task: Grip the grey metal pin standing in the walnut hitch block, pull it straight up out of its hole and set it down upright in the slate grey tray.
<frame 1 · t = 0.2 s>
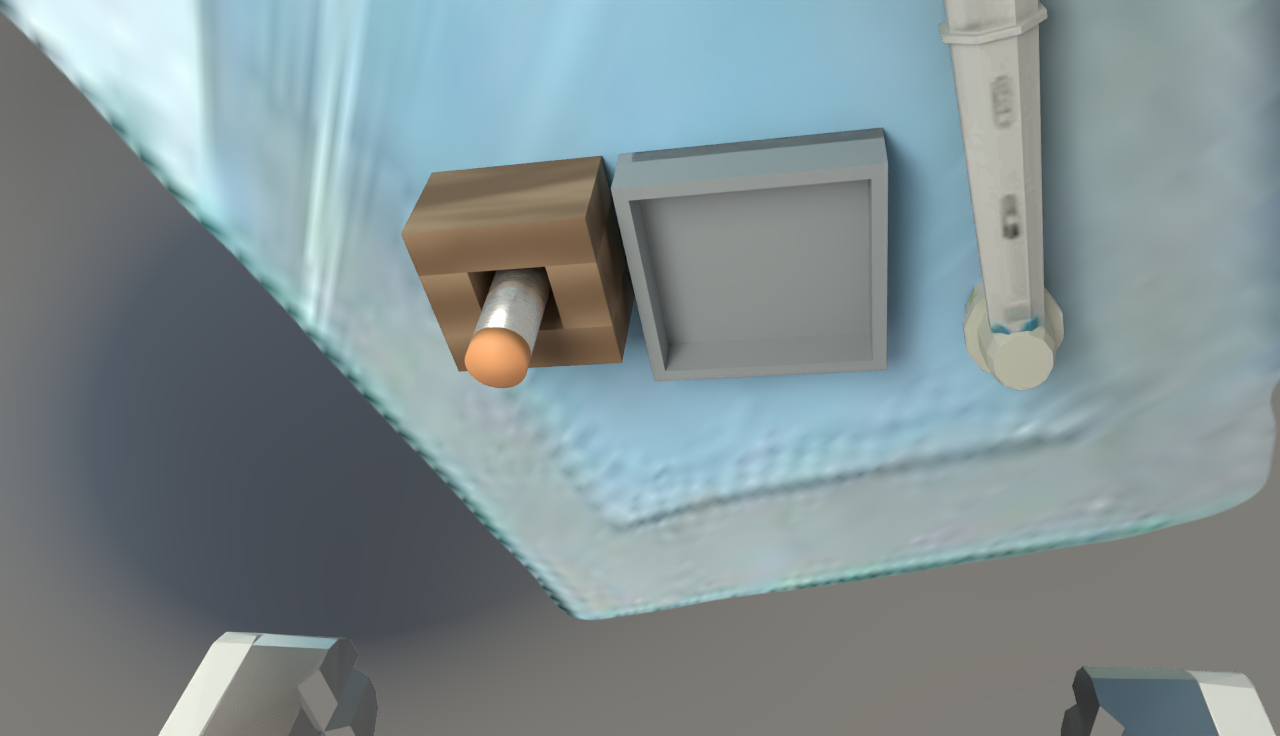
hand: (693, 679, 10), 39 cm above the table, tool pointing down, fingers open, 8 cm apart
electric toothbrush: (994, 162, 49), on the table
tray: (758, 247, 54), on the table
pin: (518, 296, 51), in the hitch block
hitch block: (537, 237, 55), on the table
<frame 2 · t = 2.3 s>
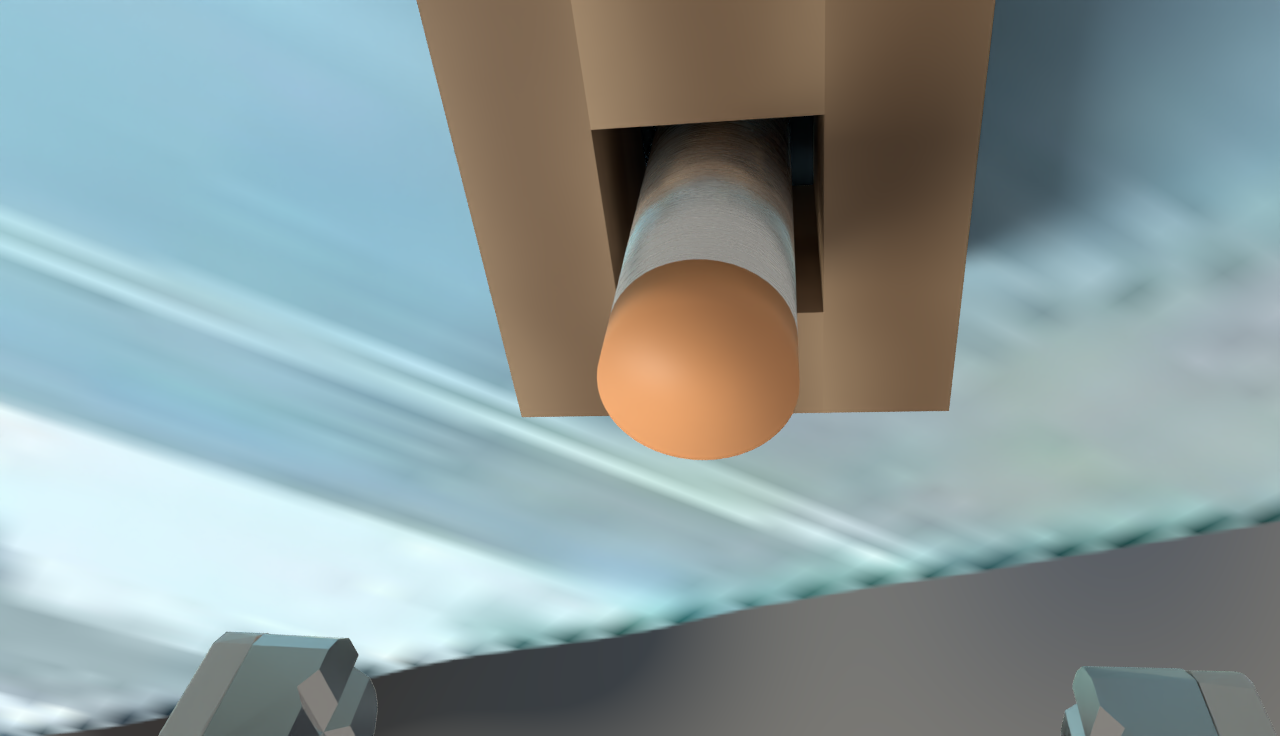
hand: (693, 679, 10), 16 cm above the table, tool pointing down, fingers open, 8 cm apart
pin: (714, 215, 19), in the hitch block
hitch block: (725, 110, 23), on the table
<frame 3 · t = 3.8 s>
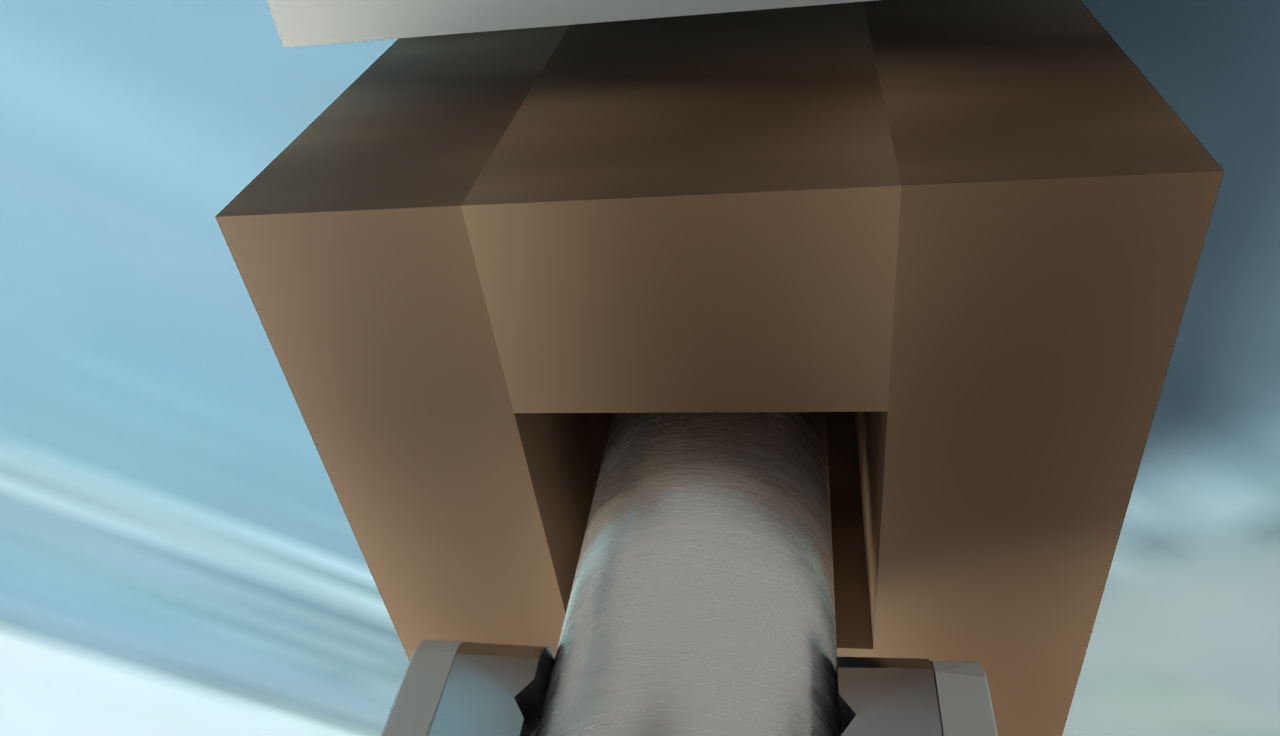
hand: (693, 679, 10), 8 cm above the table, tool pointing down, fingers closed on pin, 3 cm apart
pin: (710, 517, 12), in the hitch block, touching gripper
hitch block: (731, 292, 17), on the table
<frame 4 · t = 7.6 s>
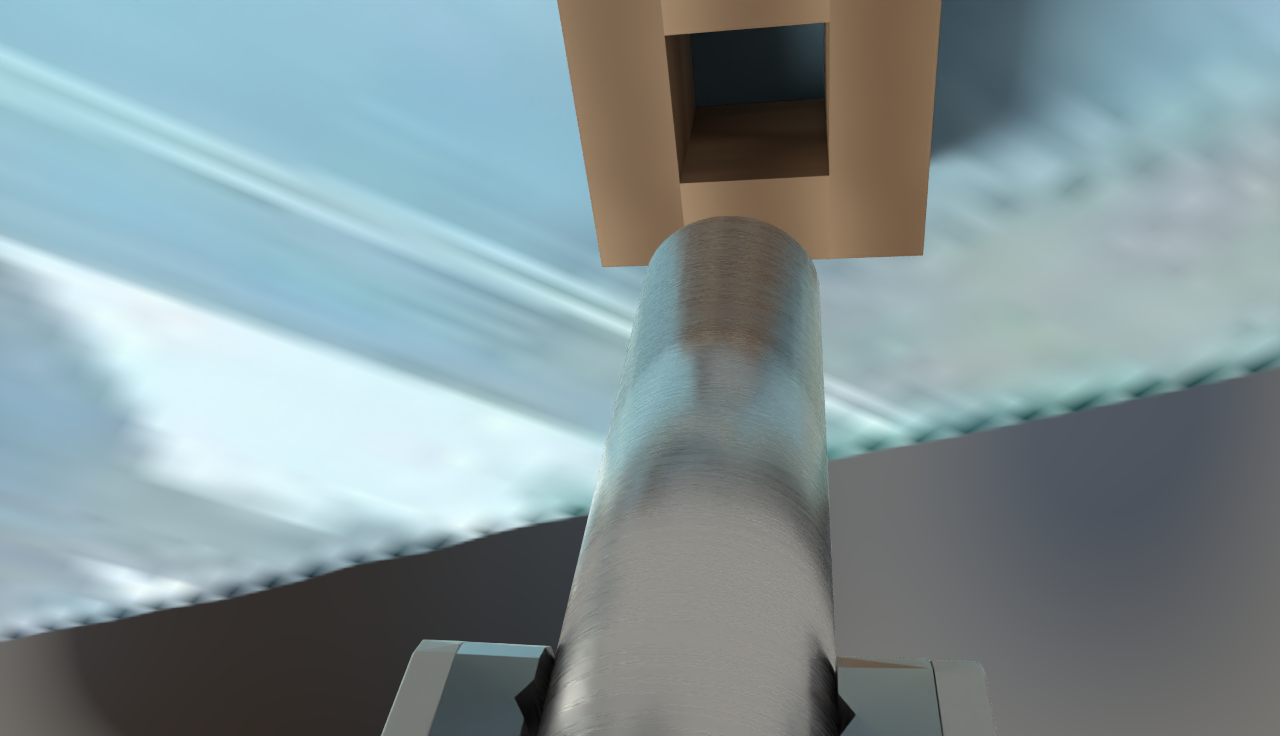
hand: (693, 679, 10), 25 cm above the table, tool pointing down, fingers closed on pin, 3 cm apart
pin: (709, 519, 12), point 22 cm above the table, touching gripper
hitch block: (756, 38, 31), on the table
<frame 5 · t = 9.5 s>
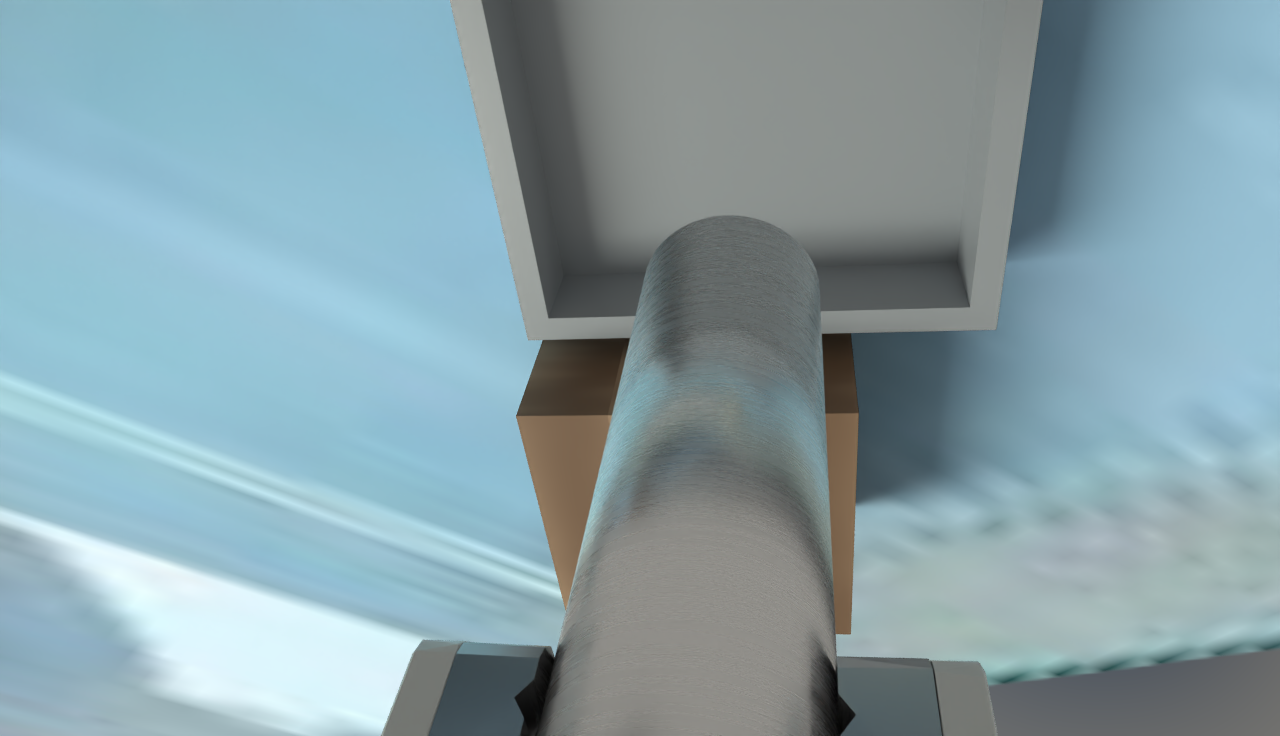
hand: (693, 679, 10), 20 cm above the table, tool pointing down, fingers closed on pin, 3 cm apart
tray: (745, 64, 26), on the table
pin: (709, 518, 12), point 18 cm above the table, touching gripper
hitch block: (707, 413, 34), on the table
when the fingers open (11 cm above the table, at t = 11.3 s): pin drops 2 cm, resting on tray.
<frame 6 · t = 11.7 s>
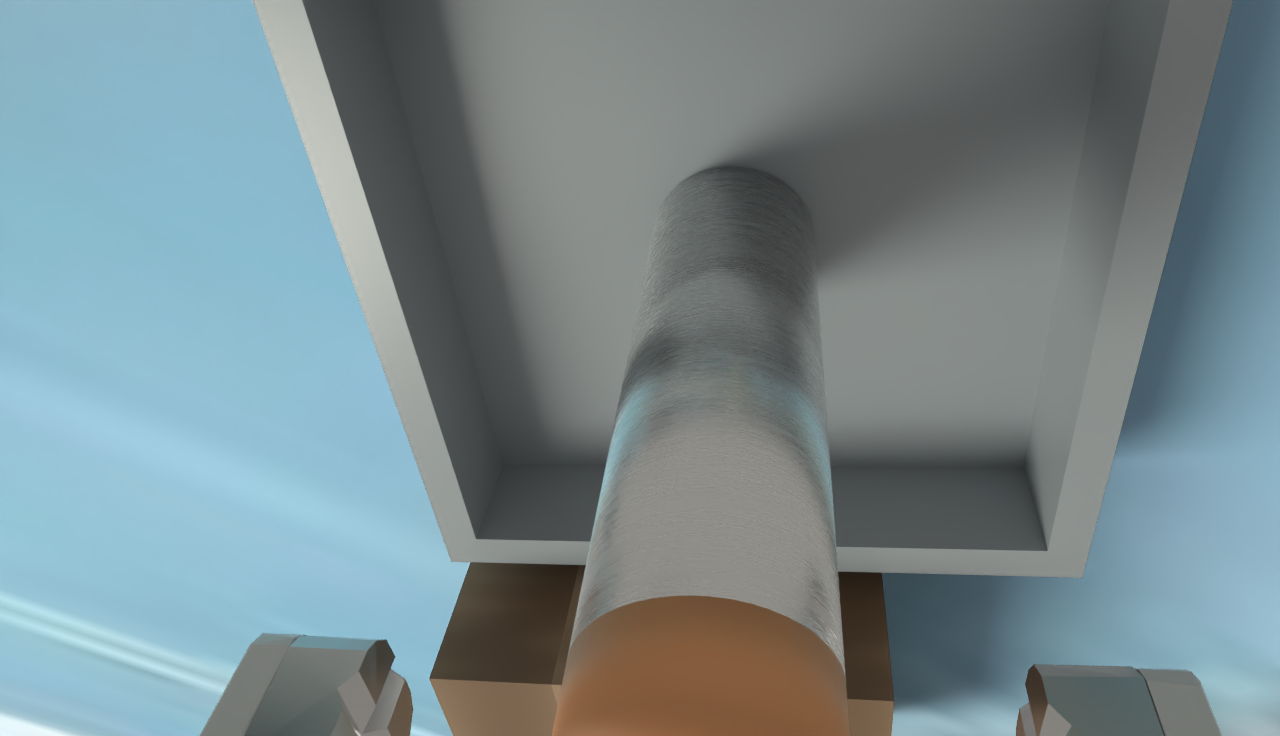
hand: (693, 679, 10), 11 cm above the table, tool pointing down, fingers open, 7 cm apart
tray: (739, 215, 19), on the table
pin: (720, 427, 14), in the tray, point 7 cm above the table
hitch block: (693, 610, 27), on the table
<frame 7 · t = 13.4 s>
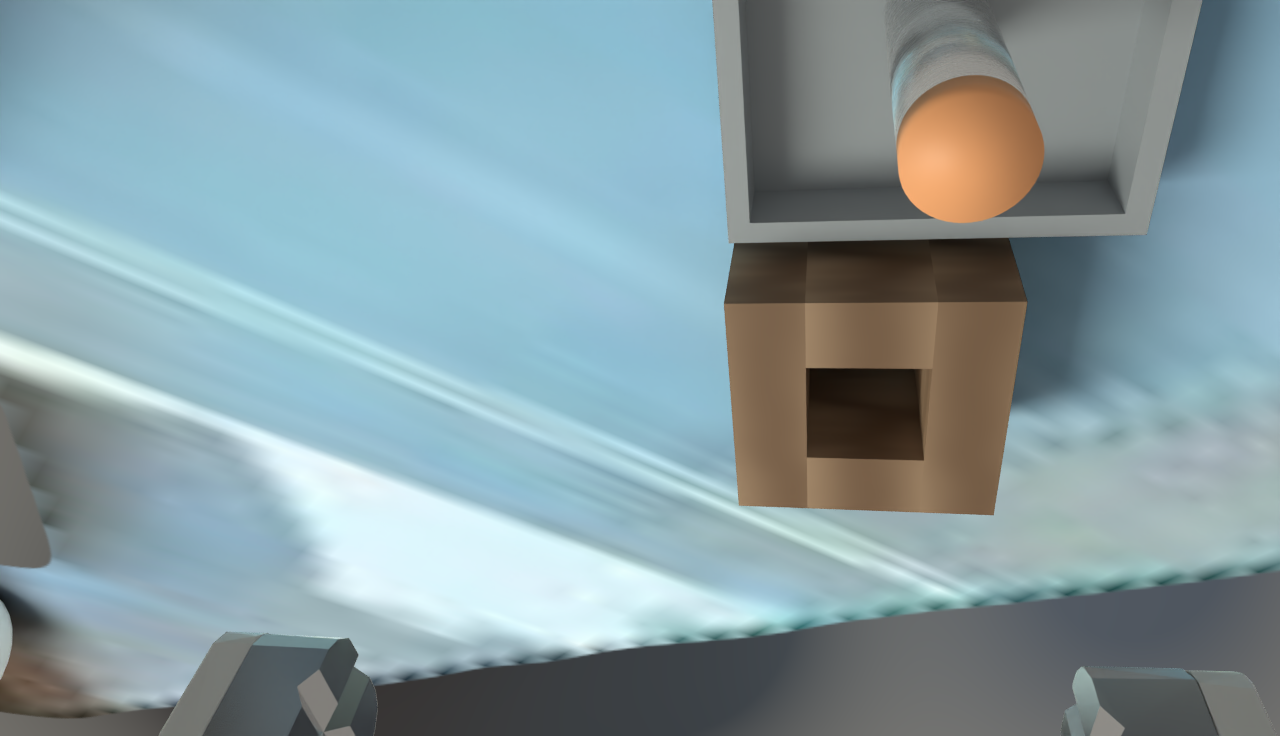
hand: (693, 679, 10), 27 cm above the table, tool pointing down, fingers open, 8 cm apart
tray: (934, 3, 31), on the table
pin: (949, 74, 26), in the tray, point 7 cm above the table
hitch block: (862, 324, 39), on the table
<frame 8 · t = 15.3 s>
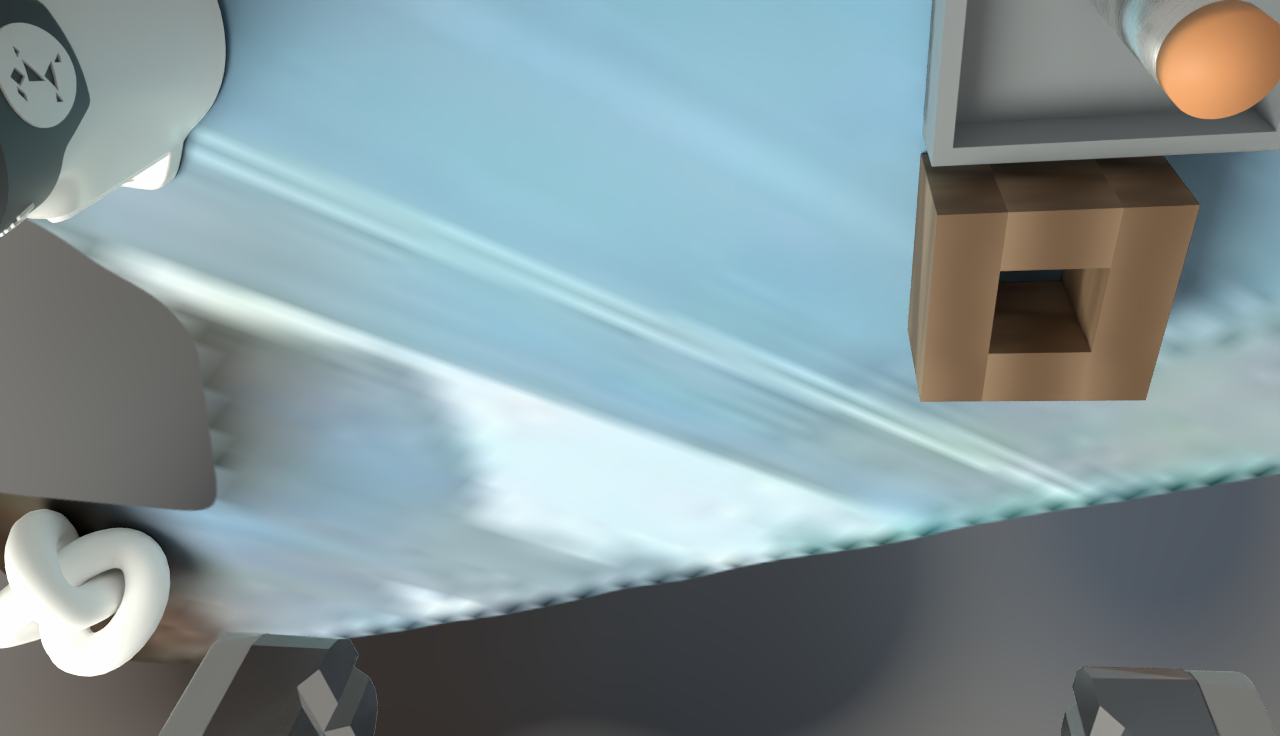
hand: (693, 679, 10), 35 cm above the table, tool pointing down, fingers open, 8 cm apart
pin: (1166, 9, 32), in the tray, point 7 cm above the table
white knot: (106, 546, 70), on the table
hitch block: (1019, 243, 45), on the table
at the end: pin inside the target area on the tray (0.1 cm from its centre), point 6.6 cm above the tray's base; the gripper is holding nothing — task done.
